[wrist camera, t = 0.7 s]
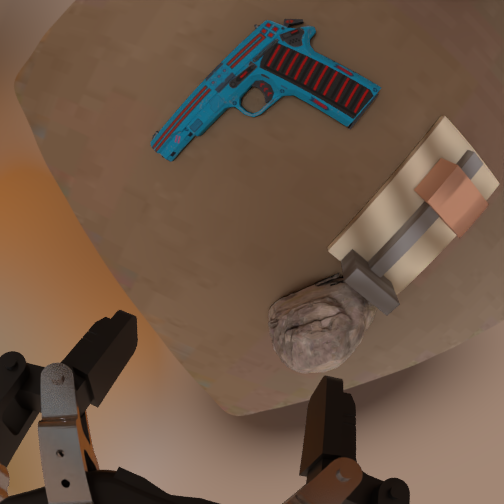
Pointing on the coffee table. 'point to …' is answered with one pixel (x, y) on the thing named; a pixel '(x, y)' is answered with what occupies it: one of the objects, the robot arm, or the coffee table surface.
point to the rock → (319, 325)
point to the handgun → (268, 84)
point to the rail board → (405, 220)
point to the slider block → (452, 196)
